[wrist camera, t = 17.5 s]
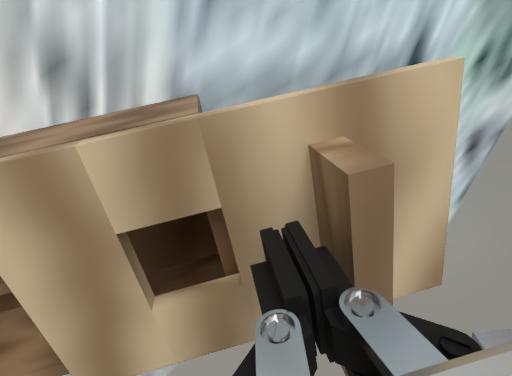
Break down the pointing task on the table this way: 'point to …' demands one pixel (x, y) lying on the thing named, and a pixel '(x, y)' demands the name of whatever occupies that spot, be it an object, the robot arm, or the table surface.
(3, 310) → the wooden box with slot
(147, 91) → the table surface
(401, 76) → the lid
